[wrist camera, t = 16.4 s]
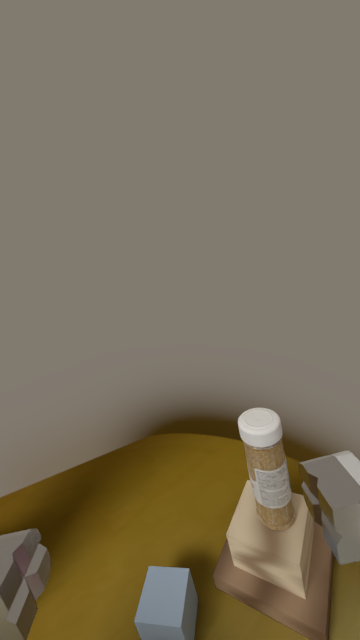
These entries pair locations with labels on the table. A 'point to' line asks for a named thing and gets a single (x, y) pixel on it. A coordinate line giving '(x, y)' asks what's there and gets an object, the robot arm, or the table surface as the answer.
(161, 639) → the block
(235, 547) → the block stand
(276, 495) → the spice jar
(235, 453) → the table surface
